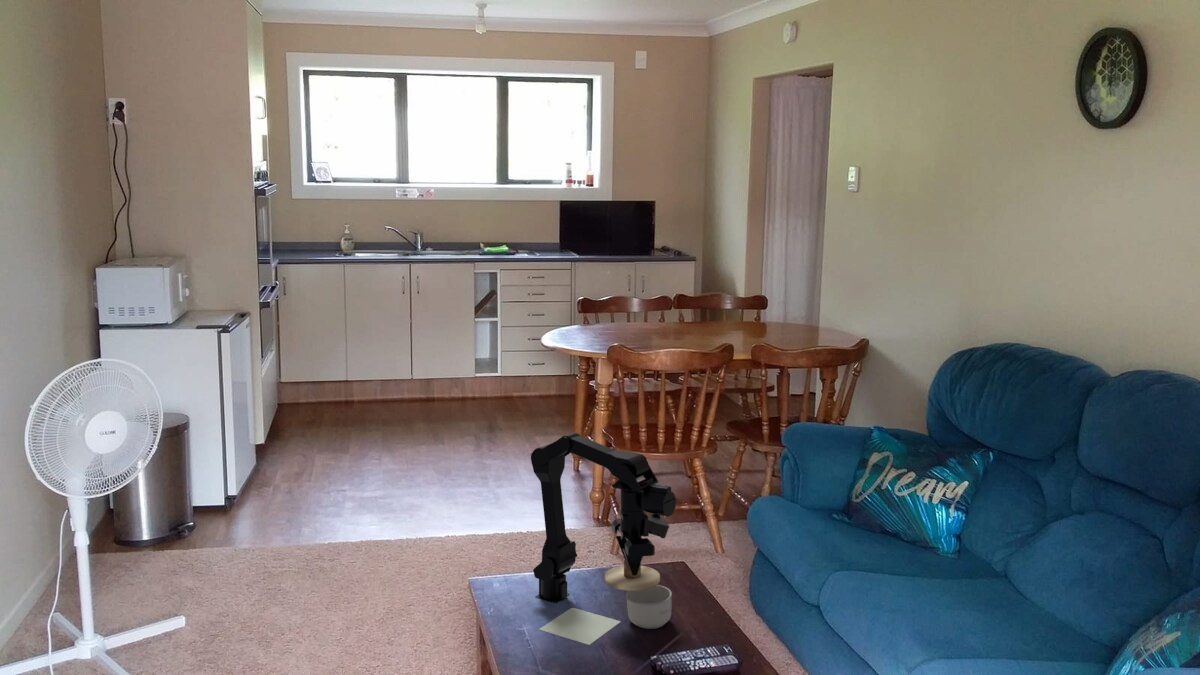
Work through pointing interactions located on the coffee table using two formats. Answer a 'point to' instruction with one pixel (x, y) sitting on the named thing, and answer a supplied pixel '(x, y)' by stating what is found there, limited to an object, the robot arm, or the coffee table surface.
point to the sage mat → (580, 626)
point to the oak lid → (632, 578)
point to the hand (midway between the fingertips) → (632, 571)
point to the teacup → (649, 607)
